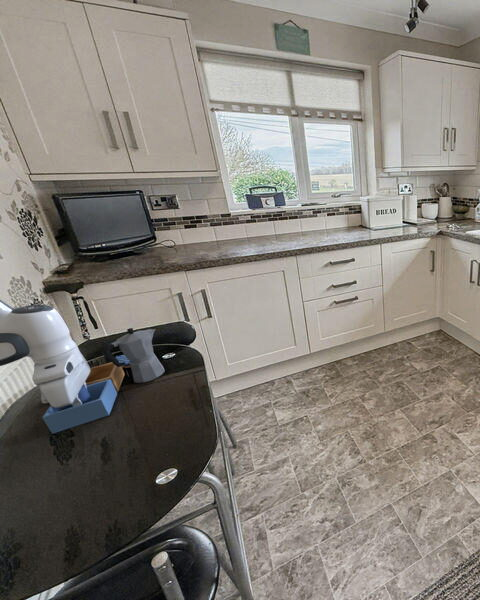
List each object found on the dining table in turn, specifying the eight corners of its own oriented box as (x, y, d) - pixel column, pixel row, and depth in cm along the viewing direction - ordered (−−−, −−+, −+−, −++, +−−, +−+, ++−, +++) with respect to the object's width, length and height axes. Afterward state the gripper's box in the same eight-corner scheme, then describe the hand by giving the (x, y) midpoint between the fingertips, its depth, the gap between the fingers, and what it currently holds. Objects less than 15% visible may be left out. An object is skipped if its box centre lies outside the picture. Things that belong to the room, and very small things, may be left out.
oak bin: (68, 406, 99) (59, 391, 97) (79, 387, 109) (72, 373, 107) (118, 391, 104) (111, 376, 102) (124, 374, 114) (118, 360, 112)
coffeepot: (162, 362, 120) (143, 318, 113) (177, 367, 115) (159, 321, 109) (113, 387, 107) (89, 338, 100) (127, 393, 103) (104, 343, 96)
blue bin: (52, 434, 88) (42, 417, 86) (66, 409, 98) (58, 393, 96) (109, 415, 93) (101, 399, 91) (117, 393, 103) (110, 378, 101)
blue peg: (75, 414, 93) (63, 394, 90) (79, 407, 96) (68, 387, 93) (93, 409, 94) (82, 389, 92) (96, 401, 98) (86, 382, 95)
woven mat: (149, 352, 128) (147, 348, 128) (141, 365, 119) (139, 360, 118) (117, 360, 125) (114, 355, 124) (106, 373, 115) (104, 369, 115)
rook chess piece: (59, 400, 103) (47, 378, 100) (40, 406, 100) (27, 384, 97) (63, 393, 106) (51, 372, 103) (44, 399, 104) (32, 378, 101)
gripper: (57, 349, 96) (78, 388, 101) (28, 382, 80) (55, 427, 85) (85, 342, 99) (104, 380, 104) (63, 373, 82) (86, 417, 87)
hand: (82, 401), depth 94 cm, fingers closed on blue peg, 4 cm apart
